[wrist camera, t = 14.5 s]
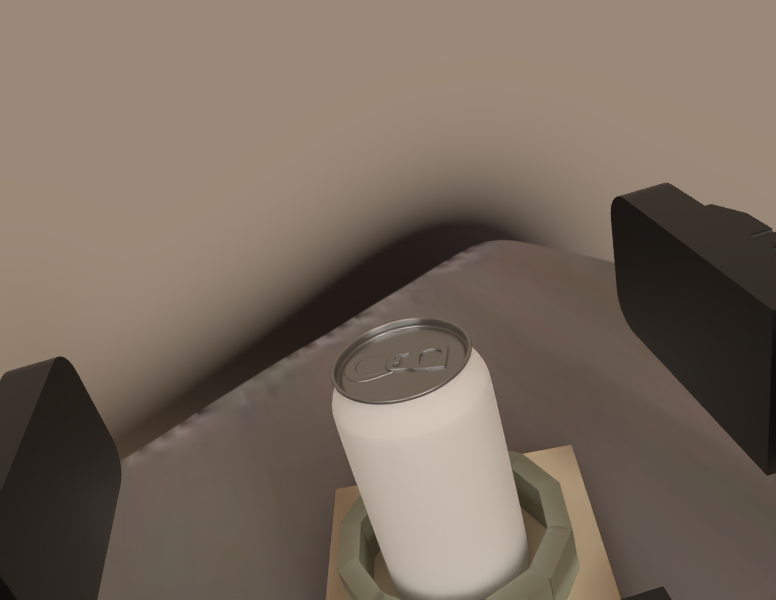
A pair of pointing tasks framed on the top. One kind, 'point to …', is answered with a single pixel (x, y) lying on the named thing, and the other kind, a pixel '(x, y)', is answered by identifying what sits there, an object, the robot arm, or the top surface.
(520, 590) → the can holder
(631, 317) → the robot arm
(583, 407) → the top surface
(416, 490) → the can
